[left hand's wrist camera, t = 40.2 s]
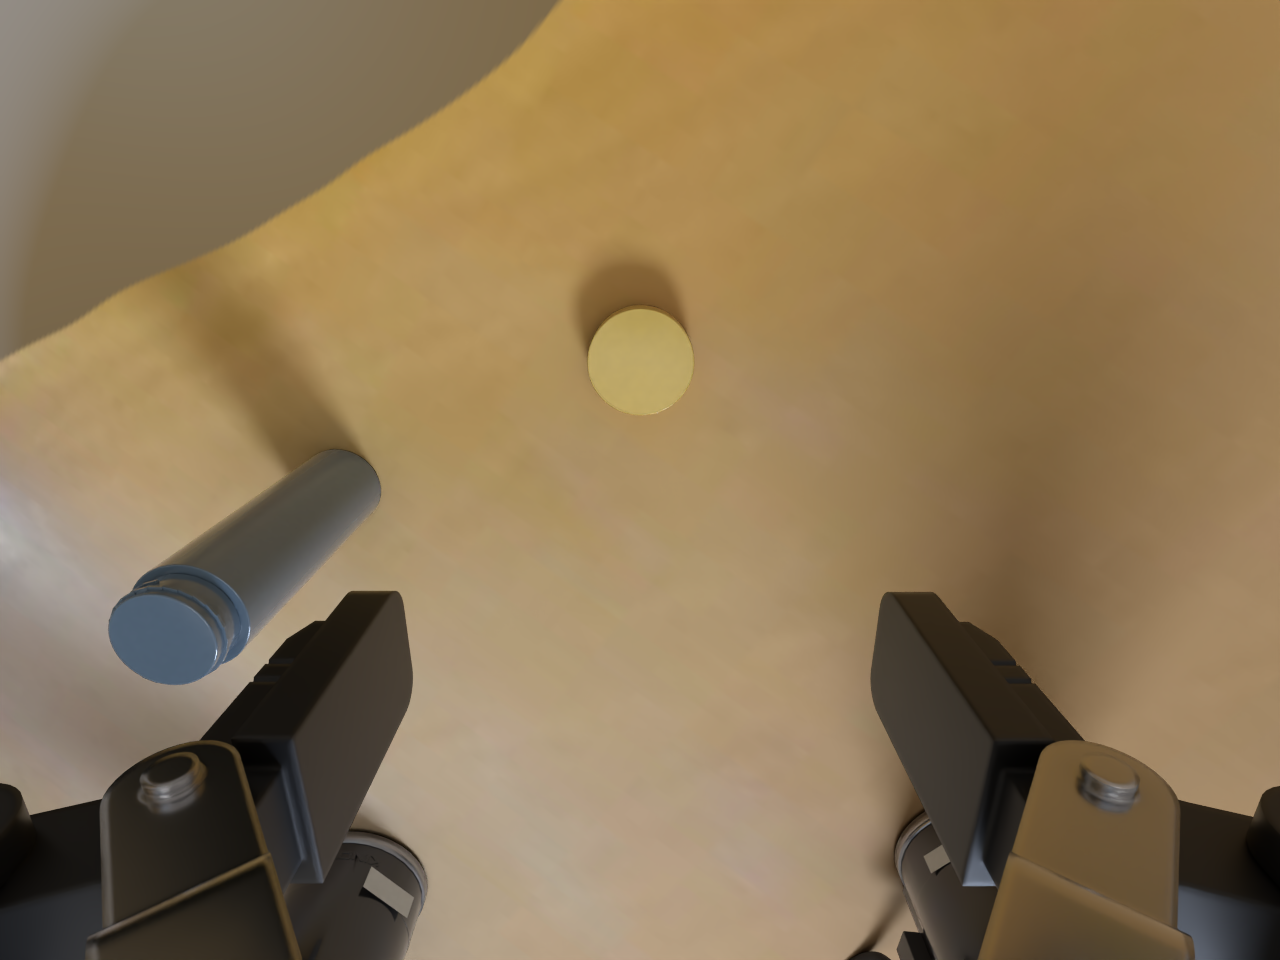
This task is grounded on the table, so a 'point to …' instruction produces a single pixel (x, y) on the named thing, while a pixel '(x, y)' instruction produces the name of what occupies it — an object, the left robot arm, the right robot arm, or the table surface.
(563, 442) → the table surface
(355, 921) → the right robot arm
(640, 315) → the lid
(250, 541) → the blue grey cylinder
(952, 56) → the table surface
